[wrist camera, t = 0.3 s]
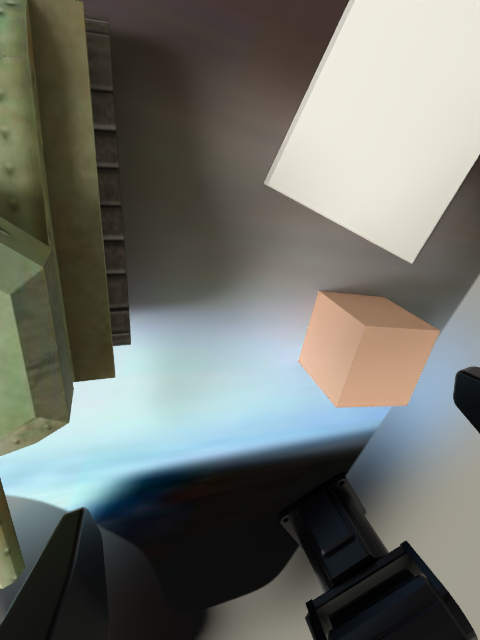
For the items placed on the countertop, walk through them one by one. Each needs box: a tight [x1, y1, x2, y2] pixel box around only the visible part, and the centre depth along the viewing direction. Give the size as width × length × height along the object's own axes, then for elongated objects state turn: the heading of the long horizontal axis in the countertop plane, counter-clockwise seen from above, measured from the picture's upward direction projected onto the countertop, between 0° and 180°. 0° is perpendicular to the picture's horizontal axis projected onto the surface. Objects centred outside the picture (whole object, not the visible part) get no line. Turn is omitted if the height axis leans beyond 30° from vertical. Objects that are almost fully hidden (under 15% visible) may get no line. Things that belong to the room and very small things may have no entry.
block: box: [298, 291, 440, 407], centre depth 23 cm, size 5×5×5 cm
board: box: [264, 0, 480, 263], centre depth 19 cm, size 16×11×1 cm
